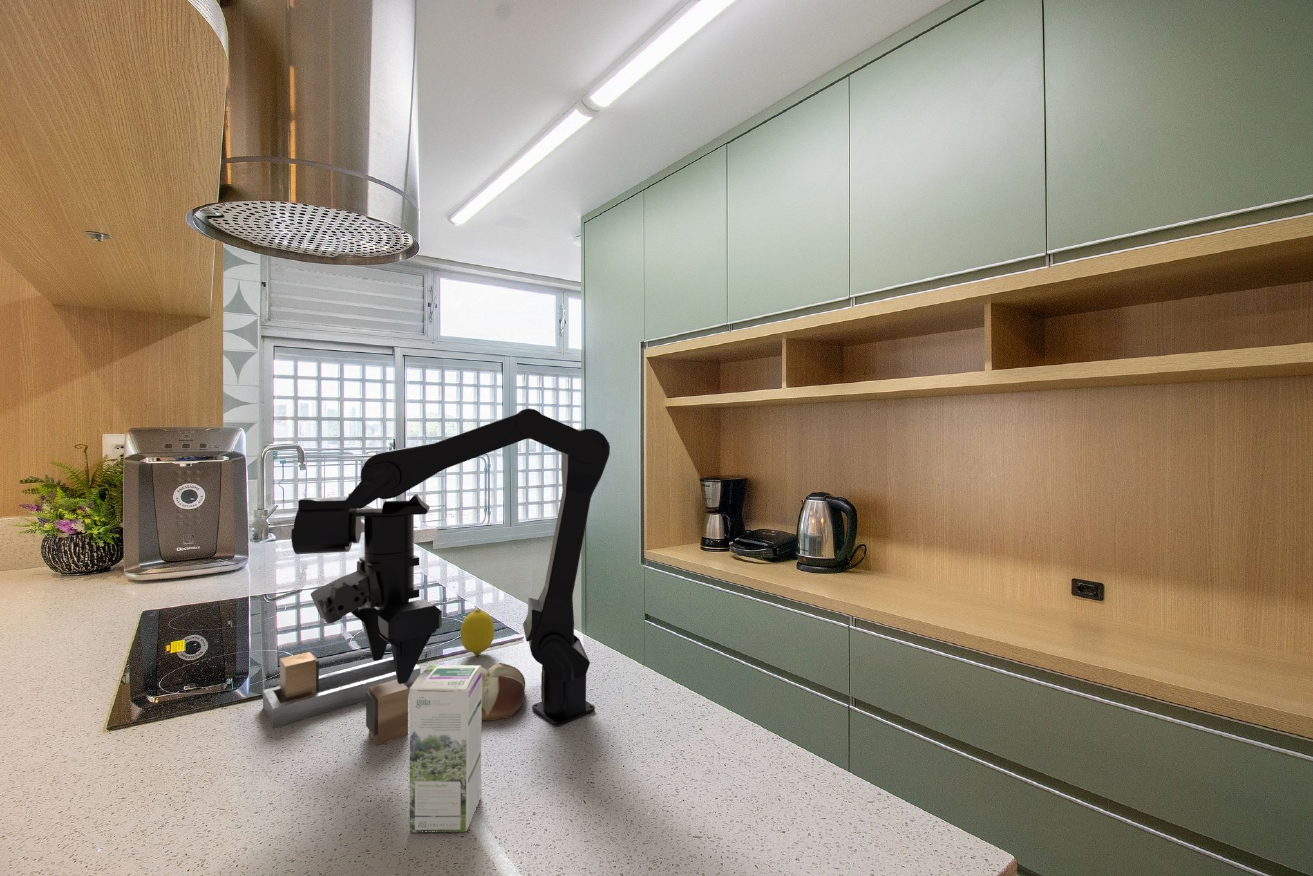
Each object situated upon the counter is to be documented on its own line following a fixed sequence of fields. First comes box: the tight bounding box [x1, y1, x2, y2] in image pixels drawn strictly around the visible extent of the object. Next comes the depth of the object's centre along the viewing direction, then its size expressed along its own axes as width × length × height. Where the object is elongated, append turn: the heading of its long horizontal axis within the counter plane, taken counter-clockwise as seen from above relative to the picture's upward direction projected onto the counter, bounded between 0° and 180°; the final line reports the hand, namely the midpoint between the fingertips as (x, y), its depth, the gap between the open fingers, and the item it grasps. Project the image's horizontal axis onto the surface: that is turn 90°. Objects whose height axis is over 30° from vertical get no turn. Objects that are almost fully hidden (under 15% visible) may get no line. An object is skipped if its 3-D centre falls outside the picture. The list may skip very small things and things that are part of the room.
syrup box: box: [408, 665, 482, 833], centre depth 58 cm, size 6×6×14 cm
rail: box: [262, 651, 421, 728], centre depth 84 cm, size 7×19×7 cm, turn 133°
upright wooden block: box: [365, 680, 409, 746], centre depth 74 cm, size 4×4×6 cm
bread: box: [481, 662, 526, 721], centre depth 82 cm, size 11×11×5 cm
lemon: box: [460, 608, 495, 656], centre depth 99 cm, size 6×6×8 cm
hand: (389, 671), depth 74 cm, fingers open, 9 cm apart
